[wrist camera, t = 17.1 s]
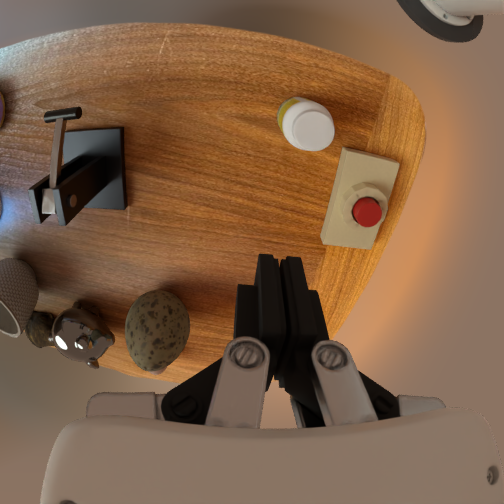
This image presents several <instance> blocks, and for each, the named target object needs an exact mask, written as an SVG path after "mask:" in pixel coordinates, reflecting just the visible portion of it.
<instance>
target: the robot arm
mask: <svg viewBox="0 0 504 504" xmlns="http://www.w3.org/2000/svg"><path fill="white" fill-rule="evenodd" d="M420 1H421V2H422V4H423V5H424V6H425V7H426V8H427V9H428V10H429V11H430V12H431V13H432V14H433V15H434V16H435V17H437V18H438V19H440V20H441V21H443V22H445V23H447V24H450V25H454V26H462V25H467V24H469V23H470V22H471V21H472V19H473V17H474V15H489V14H491V15H492V14H504V0H420ZM273 375H274V380H279V387H280V388H285V391H286V392H287V393H289V394H290V400H291V405H292V409H293V412H294V416H295V420H296V424H297V428H295V429H259V428H260V422H261V415H262V409H263V402H264V395H265V392H266V391H268V389H269V386H270V383H271V381H272V378H273ZM40 504H504V473H503V468H502V463H501V459H500V455H499V452H498V449H497V445H496V442H495V439H494V436H493V434H492V431H491V429H490V426H489V425H488V422H487V421H486V419H485V418H484V417H483V415H481V414H480V413H478V412H476V411H474V410H471V409H466V408H458V407H450V408H446V406H445V404H444V403H443V401H442V400H440V399H439V398H435V397H422V396H408V395H398V396H397V397H395V396H394V395H393V394H391V393H390V392H389V391H387V390H386V389H384V388H383V387H381V386H380V385H379V384H377V383H376V382H374V381H373V380H371V379H370V378H368V377H367V376H365V375H364V374H363V373H361V372H360V371H358V370H357V368H356V365H355V363H354V361H353V358H352V356H351V354H350V352H349V351H348V349H347V348H346V347H345V346H344V345H343V344H341V343H339V342H337V341H333V340H329V336H328V331H327V327H326V323H325V319H324V315H323V311H322V307H321V303H320V299H319V295H318V292H317V291H316V290H308V286H307V281H306V277H305V273H304V269H303V264H302V260H301V258H300V257H291V256H287V257H286V260H285V259H282V260H281V262H280V267H279V262H278V259H274V257H273V255H270V254H259V257H258V263H257V269H256V275H255V282H254V285H242V284H238V287H237V296H236V306H235V320H234V338H233V340H232V341H230V342H229V343H228V344H227V346H226V348H225V351H224V355H223V357H222V358H220V359H219V360H217V361H216V362H214V363H213V364H211V365H210V366H208V367H207V368H205V369H204V370H202V371H201V372H199V373H197V374H196V375H194V376H193V377H191V378H190V379H188V380H186V381H185V382H183V383H182V384H180V385H178V386H177V387H175V388H173V389H172V390H170V391H169V392H168V393H167V394H155V392H135V393H112V392H111V393H110V392H103V393H97V394H95V395H94V396H92V397H91V398H90V400H89V401H88V404H87V408H86V417H85V418H81V419H77V420H75V421H72V422H70V423H69V424H67V426H66V427H64V428H63V429H62V431H61V432H60V434H59V436H58V438H57V440H56V442H55V444H54V446H53V449H52V452H51V455H50V458H49V461H48V465H47V468H46V473H45V477H44V482H43V487H42V493H41V501H40Z"/></svg>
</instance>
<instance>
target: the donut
mask: <svg viewBox="0 0 504 504" xmlns="http://www.w3.org/2000/svg"><path fill="white" fill-rule="evenodd" d="M4 116H5V102H4V98H3V95H2V93H1V92H0V128H1V126H2V123H3V121H4Z"/></svg>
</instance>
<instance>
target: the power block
mask: <svg viewBox="0 0 504 504" xmlns="http://www.w3.org/2000/svg"><path fill="white" fill-rule="evenodd" d="M399 165H400V164H399V163H398V162H397V161H395V160H394V159H391V158H388V157H384V156H380V155H376V154H372V153H368V152H364V151H359V150H355V149H350V148H346V147H342V152H341V156H340V160H339V165H338V169H337V173H336V177H335V181H334V186H333V190H332V194H331V198H330V201H329V205H328V209H327V213H326V217H325V221H324V224H323V228H322V232H321V235H320V237H321V240H322V242H323V244H326V245H335V246H344V247H353V248H362V249H370V250H371V248H372V246H373V243H374V241H375V238H376V235H377V233H378V230H379V227H380V224H381V223H382V222H383V221H384V219H385V216H386V213H387V211H388V205H387V204H388V201H389V198H390V195H391V192H392V188H393V185H394V182H395V179H396V175H397V172H398V169H399ZM365 197H369V198H372V199H374V200H375V201H376V203H377V204H378V205H379V206H380V208H381V210H382V216H381V219H380V221H379V222H378V223H377V224H376V225H374V226H372V227H363V226H361V225H360V224H359V223H358V222H357V220H356V218H355V217H354V215H353V208H354V205H355V204H356V202H357V201H358V200H360V199H362V198H365Z"/></svg>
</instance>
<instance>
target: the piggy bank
mask: <svg viewBox="0 0 504 504" xmlns="http://www.w3.org/2000/svg"><path fill="white" fill-rule="evenodd" d="M99 312H100V310H99V308H98V307H97V306H92V307H91V308H90V309H89V310H85V309H82V307H81V304H80V303H79V302H74V304H73V306H72V308H69V309H66V310H64V311H62V312H61V313H60V314H59V315H58V316H57V317H56V319H55V321H54V323H53V326H52V330H51V332H50V333H49V336H48V340H49V342H52V343H54V345H55V347H56V348H57V350H58V351H59V352H60V353H61V354H63V355H64V356H66V357H67V358H70V359H72V360H75V361H79V362H85V363H86V364H87V365H88V366H89V367H91V368H95V369H98V368H99V364H98V361H97V359H98V358H100V357H101V356H102V355H103V354H104V353H105V352H106V351H107V349H108V348H109V347H110V346H111V345H113V344H114V343H115V336H114V334H113V333H112V332H111V331H110V329H109V328H108V326H107V325H106V323H105V322H104V321H103V320H102V319H101V318H100V317H99V316H98V315H99Z"/></svg>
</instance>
